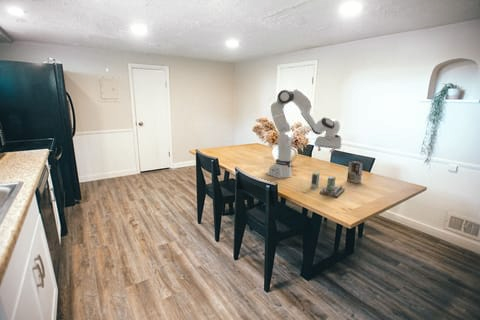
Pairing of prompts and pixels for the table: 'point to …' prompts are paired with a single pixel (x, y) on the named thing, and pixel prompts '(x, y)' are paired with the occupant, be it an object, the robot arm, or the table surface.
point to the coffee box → (355, 171)
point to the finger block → (315, 180)
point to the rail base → (332, 188)
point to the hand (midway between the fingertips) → (324, 151)
